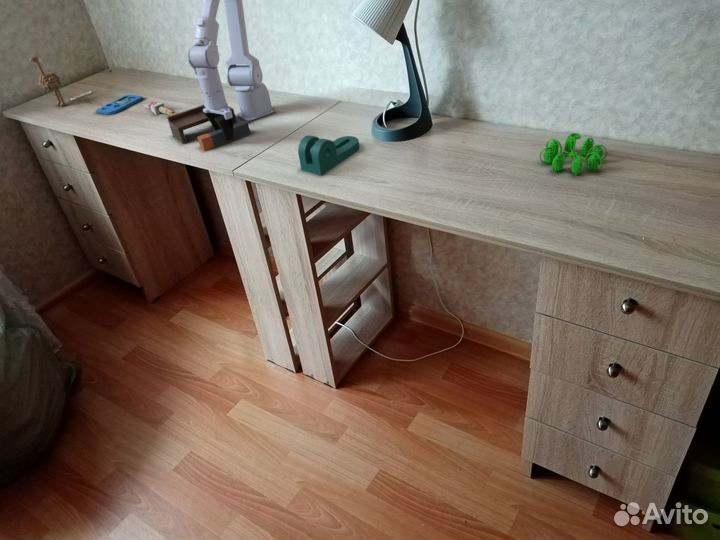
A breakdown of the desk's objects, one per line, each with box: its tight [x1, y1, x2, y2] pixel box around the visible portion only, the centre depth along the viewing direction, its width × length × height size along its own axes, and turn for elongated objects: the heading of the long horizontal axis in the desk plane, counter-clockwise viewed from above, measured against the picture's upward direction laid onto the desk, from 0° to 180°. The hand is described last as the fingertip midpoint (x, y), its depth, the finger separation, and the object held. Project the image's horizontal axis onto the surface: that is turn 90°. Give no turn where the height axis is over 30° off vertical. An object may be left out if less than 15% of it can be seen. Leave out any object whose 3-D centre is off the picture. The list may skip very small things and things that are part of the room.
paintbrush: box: [141, 101, 178, 116], centre depth 186 cm, size 4×3×20 cm
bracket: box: [297, 134, 360, 177], centre depth 144 cm, size 18×7×8 cm, turn 143°
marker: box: [197, 120, 251, 152], centre depth 161 cm, size 15×3×4 cm, turn 127°
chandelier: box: [539, 132, 609, 176], centre depth 129 cm, size 15×15×7 cm
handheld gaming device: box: [95, 94, 144, 115], centre depth 196 cm, size 8×1×15 cm
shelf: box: [166, 104, 238, 144], centre depth 169 cm, size 18×8×6 cm, turn 127°
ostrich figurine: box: [29, 55, 93, 108], centre depth 201 cm, size 17×7×18 cm, turn 144°
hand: (224, 136), depth 162 cm, fingers open, 6 cm apart
